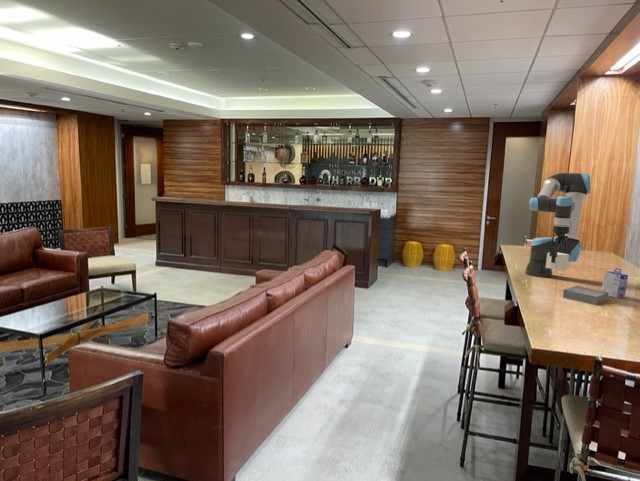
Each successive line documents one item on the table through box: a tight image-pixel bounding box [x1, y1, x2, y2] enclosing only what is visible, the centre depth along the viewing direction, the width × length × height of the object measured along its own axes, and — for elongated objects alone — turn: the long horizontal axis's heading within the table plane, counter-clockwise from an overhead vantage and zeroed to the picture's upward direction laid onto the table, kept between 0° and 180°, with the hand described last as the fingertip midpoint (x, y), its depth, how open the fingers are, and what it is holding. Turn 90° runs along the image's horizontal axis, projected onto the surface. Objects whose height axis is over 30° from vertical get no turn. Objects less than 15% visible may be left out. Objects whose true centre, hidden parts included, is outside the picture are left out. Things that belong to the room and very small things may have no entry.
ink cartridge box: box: [600, 267, 629, 299], centre depth 236 cm, size 10×6×14 cm, turn 15°
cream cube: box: [546, 252, 569, 271], centre depth 244 cm, size 8×8×8 cm
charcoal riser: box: [562, 285, 609, 306], centre depth 228 cm, size 16×15×4 cm
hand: (556, 267), depth 245 cm, fingers closed on cream cube, 8 cm apart
